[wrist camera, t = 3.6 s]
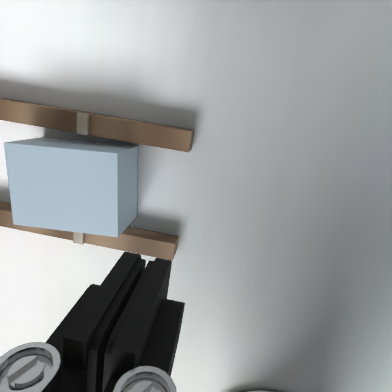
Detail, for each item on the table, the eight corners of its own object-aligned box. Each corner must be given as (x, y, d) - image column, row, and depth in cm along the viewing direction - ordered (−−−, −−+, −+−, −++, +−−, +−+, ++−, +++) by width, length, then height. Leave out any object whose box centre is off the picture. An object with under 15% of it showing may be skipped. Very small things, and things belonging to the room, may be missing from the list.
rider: (138, 145, 23) (117, 153, 19) (137, 215, 25) (117, 237, 21) (44, 137, 24) (3, 142, 20) (50, 205, 26) (13, 224, 21)
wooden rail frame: (194, 130, 22) (190, 131, 20) (175, 252, 25) (171, 262, 23) (-158, 71, 24) (-188, 68, 22) (-135, 190, 27) (-159, 195, 26)
